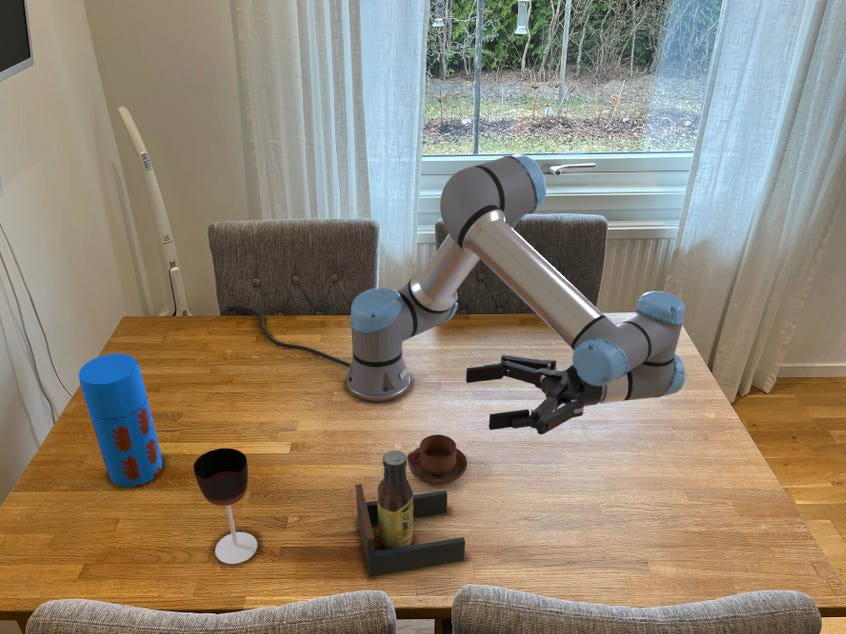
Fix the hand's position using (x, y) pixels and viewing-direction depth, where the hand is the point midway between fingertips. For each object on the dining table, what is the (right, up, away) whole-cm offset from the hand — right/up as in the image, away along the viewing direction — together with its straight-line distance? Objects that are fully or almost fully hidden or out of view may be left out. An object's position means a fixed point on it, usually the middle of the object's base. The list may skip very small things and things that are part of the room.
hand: (477, 397), depth 122 cm
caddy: (-11, -27, +9) cm, 30 cm away
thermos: (-68, -16, +26) cm, 74 cm away
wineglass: (-43, -28, +8) cm, 52 cm away
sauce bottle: (-14, -27, +9) cm, 32 cm away
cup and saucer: (-5, -16, +26) cm, 31 cm away
